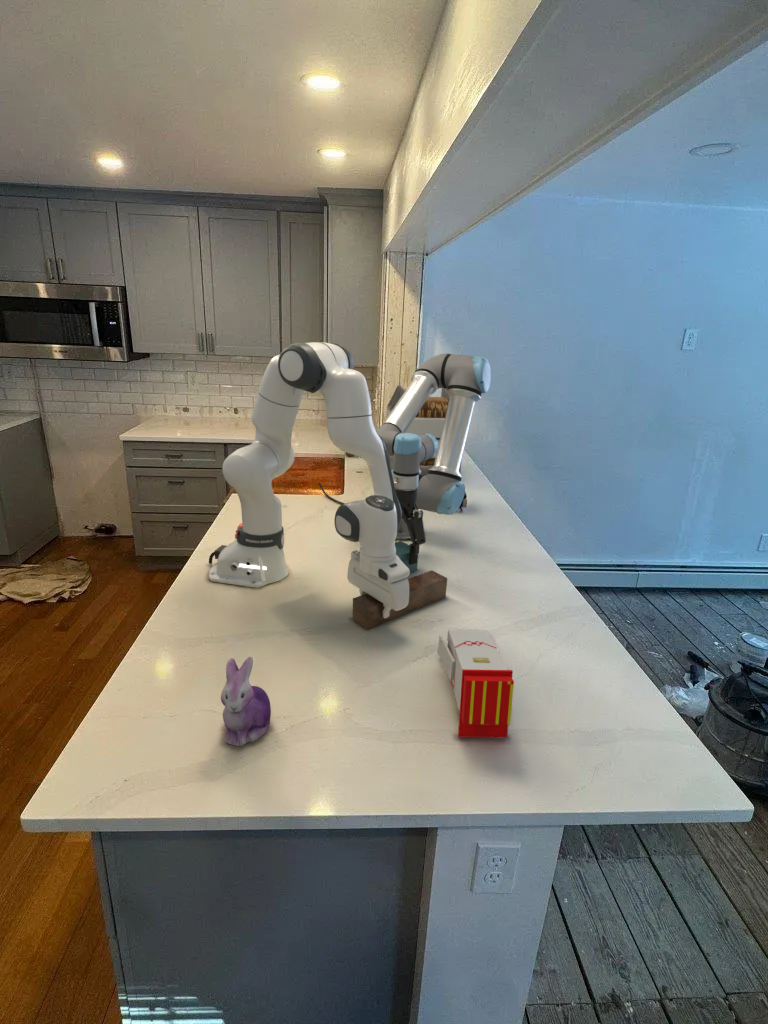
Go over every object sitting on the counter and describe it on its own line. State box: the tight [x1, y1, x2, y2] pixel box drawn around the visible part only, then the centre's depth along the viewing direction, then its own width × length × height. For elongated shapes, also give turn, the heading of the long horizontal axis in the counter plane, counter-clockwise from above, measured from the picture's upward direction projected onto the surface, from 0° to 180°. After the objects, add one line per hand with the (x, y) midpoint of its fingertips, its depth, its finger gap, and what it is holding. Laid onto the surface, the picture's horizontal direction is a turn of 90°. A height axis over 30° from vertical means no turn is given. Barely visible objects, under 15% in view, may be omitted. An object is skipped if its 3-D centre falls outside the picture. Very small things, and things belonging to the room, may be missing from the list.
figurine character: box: [458, 489, 468, 512], centre depth 228 cm, size 7×8×15 cm
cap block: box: [395, 540, 419, 574], centre depth 172 cm, size 7×8×7 cm
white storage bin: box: [385, 384, 463, 475], centre depth 268 cm, size 34×33×41 cm
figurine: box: [220, 656, 272, 747], centre depth 102 cm, size 9×10×15 cm
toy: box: [437, 628, 515, 738], centre depth 117 cm, size 12×13×30 cm
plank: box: [351, 570, 448, 630], centre depth 150 cm, size 28×6×6 cm, turn 130°
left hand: (375, 610), depth 144 cm, fingers closed on plank, 6 cm apart
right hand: (401, 557), depth 172 cm, fingers open, 10 cm apart
